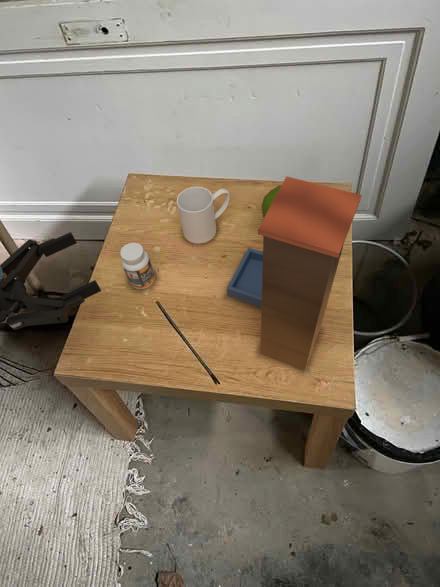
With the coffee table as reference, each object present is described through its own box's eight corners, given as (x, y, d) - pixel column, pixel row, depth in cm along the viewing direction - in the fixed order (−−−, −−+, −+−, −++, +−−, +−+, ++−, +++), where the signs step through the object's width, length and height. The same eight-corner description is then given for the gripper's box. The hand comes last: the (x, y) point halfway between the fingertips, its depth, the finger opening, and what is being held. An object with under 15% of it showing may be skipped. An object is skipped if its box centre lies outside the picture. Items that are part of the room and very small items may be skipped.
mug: (191, 249, 96) (185, 217, 87) (178, 227, 100) (171, 194, 91) (238, 229, 98) (236, 196, 90) (223, 208, 102) (220, 174, 94)
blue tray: (279, 314, 85) (279, 306, 83) (227, 296, 88) (226, 288, 86) (297, 271, 91) (299, 263, 88) (248, 256, 94) (248, 247, 91)
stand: (306, 374, 78) (339, 252, 48) (256, 354, 80) (257, 228, 50) (322, 330, 82) (361, 194, 52) (275, 313, 85) (286, 176, 55)
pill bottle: (151, 291, 90) (141, 263, 82) (126, 288, 91) (113, 261, 83) (158, 270, 93) (148, 241, 85) (133, 268, 94) (122, 239, 86)
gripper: (-28, 276, 84) (71, 232, 89) (2, 376, 72) (115, 318, 76) (-51, 253, 78) (57, 206, 82) (-22, 358, 65) (103, 296, 70)
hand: (85, 260), depth 79 cm, fingers open, 13 cm apart
